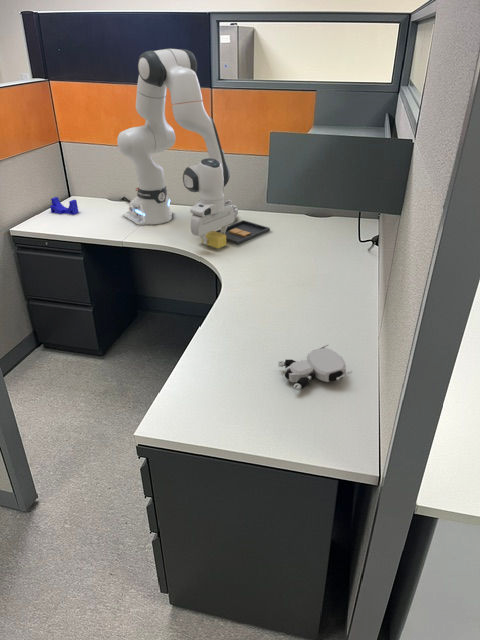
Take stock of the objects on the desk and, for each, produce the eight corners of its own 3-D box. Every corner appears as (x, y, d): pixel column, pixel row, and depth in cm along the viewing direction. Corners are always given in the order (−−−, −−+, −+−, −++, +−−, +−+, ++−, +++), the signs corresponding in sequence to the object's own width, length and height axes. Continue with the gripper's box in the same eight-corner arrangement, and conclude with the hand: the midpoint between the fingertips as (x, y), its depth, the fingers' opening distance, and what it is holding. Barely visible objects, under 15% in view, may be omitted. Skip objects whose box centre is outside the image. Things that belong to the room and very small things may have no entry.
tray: (211, 237, 201) (210, 232, 200) (243, 224, 213) (243, 220, 212) (237, 246, 192) (237, 241, 191) (269, 232, 205) (269, 227, 204)
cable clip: (51, 212, 229) (48, 199, 226) (58, 209, 233) (55, 196, 230) (72, 215, 225) (69, 202, 222) (78, 212, 228) (76, 199, 225)
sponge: (201, 244, 194) (201, 232, 191) (209, 241, 197) (209, 229, 194) (218, 250, 189) (217, 238, 186) (226, 247, 192) (226, 234, 189)
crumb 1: (228, 232, 203) (228, 230, 203) (235, 229, 206) (235, 227, 205) (236, 234, 201) (236, 232, 200) (242, 232, 203) (242, 230, 203)
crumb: (236, 235, 201) (236, 233, 200) (243, 232, 203) (243, 230, 203) (244, 237, 198) (244, 235, 198) (250, 234, 201) (250, 232, 200)
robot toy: (295, 400, 115) (353, 383, 119) (295, 385, 113) (354, 368, 116) (275, 370, 125) (329, 355, 129) (275, 356, 123) (330, 341, 126)
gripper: (225, 196, 193) (226, 230, 200) (186, 210, 180) (189, 245, 187) (237, 199, 189) (238, 234, 196) (199, 213, 176) (201, 250, 183)
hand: (214, 240), depth 192 cm, fingers open, 8 cm apart
